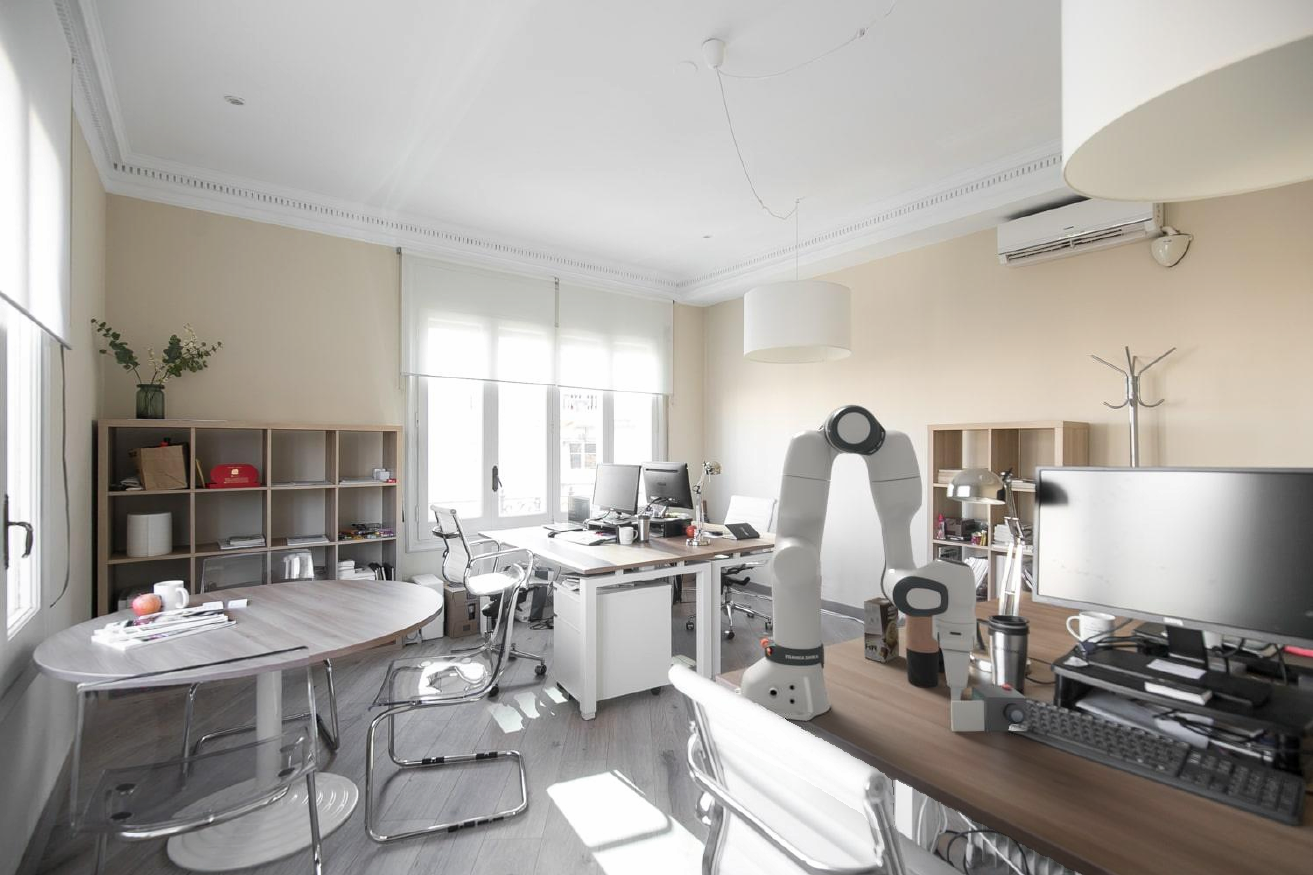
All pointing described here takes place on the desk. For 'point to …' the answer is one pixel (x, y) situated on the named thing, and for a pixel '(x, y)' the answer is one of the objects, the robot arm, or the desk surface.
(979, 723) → the side door
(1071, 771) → the desk surface
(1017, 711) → the camera block
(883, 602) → the coffee box
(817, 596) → the robot arm
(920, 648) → the travel mug
